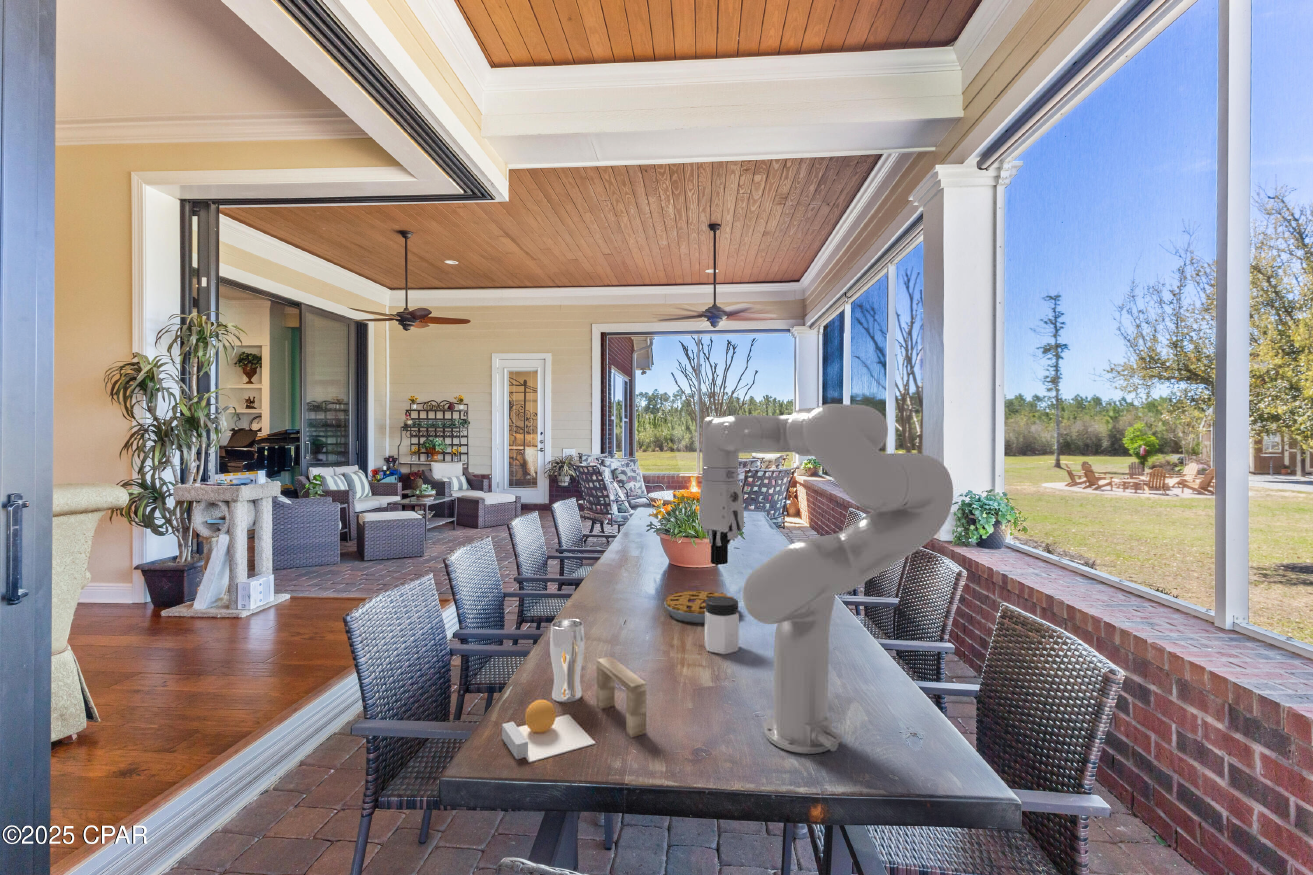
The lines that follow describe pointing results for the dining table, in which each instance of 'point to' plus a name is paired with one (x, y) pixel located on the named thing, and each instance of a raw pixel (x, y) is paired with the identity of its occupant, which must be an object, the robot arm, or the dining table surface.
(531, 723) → the ball
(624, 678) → the bridge
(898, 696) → the dining table surface
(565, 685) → the beer glass
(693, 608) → the pie
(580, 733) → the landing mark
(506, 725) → the stopper wall
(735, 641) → the jar
